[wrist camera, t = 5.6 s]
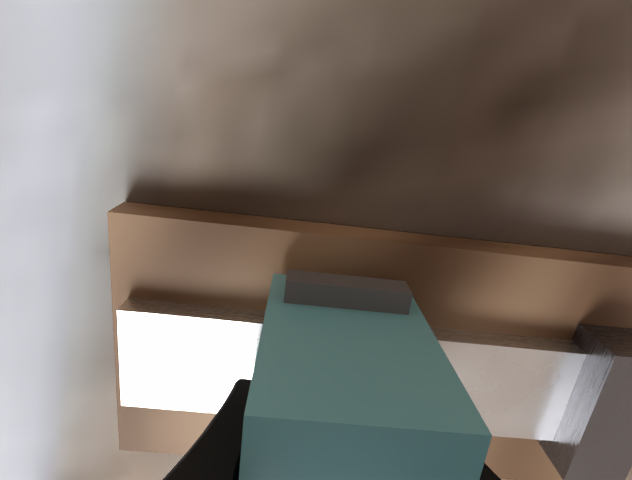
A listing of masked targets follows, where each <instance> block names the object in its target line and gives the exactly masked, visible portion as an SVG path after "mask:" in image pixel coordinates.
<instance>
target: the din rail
mask: <svg viewBox="0 0 632 480" xmlns="http://www.w3.org/2000/svg"><path fill="white" fill-rule="evenodd" d="M264 316H265V311H262V310H252V309H241V308H231V307H220V306H210V305H199V304H189V303H178V302H168V301H158V300H147V299H137V298H127V299H126V300H125V302H124V303H123V304H122V305H121V306H120V307H119V308H118V310H117V324H118V345H119V367H120V388H121V406H133V407H145V408H157V409H169V410H181V411H194V412H206V413H217V412H218V411H219V409H220V407H221V406H222V404H223V403H224V401H225V400H226V398H227V396H228V395H229V393H230V391H231V389H232V388H233V385H234V383H235V381H237V380H238V379H251V378H252V374H253V369H254V364H255V359H256V354H257V350H258V345H259V340H260V335H261V330H262V325H263V321H264ZM430 328H431V330H432V331H433V333H434V335H435V337H436V338H437V340H438V342H439V344H440V345H441V347H442V349H443V351H444V352H445V354H446V356H447V357H448V359H449V361H450V363H451V364H452V366H453V368H454V370H455V371H456V373H457V375H458V377H459V378H460V380H461V382H462V384H463V385H464V387H465V389H466V391H467V392H468V394H469V396H470V398H471V399H472V401H473V403H474V405H475V406H476V408H477V410H478V412H479V413H480V415H481V417H482V419H483V420H484V422H485V424H486V426H487V427H488V429H489V431H490V432H491V434H492V436H498V437H510V438H523V439H535V440H537V441H538V443H539V444H540V446H541V447H542V449H543V450H544V452H545V453H546V455H547V456H548V458H549V459H550V461H551V462H552V464H553V465H554V467H555V468H556V470H557V471H558V473H559V475H560V476H561V478H562V479H563V480H625V479H626V477H627V475H628V473H629V471H630V468H631V466H632V328H622V327H612V326H602V325H592V324H581V323H578V324H577V327H576V329H575V332H574V335H573V337H572V340H564V339H554V338H544V337H533V336H523V335H512V334H502V333H491V332H481V331H471V330H460V329H450V328H439V327H430Z"/></svg>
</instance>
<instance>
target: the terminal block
mask: <svg viewBox="0 0 632 480" xmlns="http://www.w3.org/2000/svg"><path fill="white" fill-rule="evenodd" d="M491 439H492V434H491V432H490V431H489V429H488V427H487V426H486V424H485V422H484V420H483V419H482V417H481V415H480V413H479V412H478V410H477V408H476V406H475V405H474V403H473V401H472V399H471V398H470V396H469V394H468V392H467V391H466V389H465V387H464V385H463V384H462V382H461V380H460V378H459V377H458V375H457V373H456V371H455V370H454V368H453V366H452V364H451V363H450V361H449V359H448V357H447V356H446V354H445V352H444V351H443V349H442V347H441V345H440V344H439V342H438V340H437V338H436V337H435V335H434V333H433V331H432V330H431V328H430V326H429V324H428V323H427V321H426V319H425V317H424V316H423V314H422V312H421V310H420V309H419V307H418V305H417V303H416V302H415V300H414V298H413V293H412V291H411V289H410V288H409V286H408V284H407V283H406V281H399V280H389V279H379V278H369V277H360V276H350V275H340V274H330V273H320V272H310V271H300V270H290V269H287V275H285V274H275V273H273V277H272V282H271V287H270V292H269V297H268V301H267V306H266V311H265V316H264V321H263V325H262V330H261V335H260V340H259V345H258V350H257V354H256V359H255V364H254V369H253V374H252V378H251V383H250V388H249V393H248V398H247V402H246V407H245V412H244V419H243V432H242V444H241V457H240V470H239V480H480V476H481V473H482V469H483V466H484V462H485V459H486V456H487V452H488V449H489V445H490V442H491Z"/></svg>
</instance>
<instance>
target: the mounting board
mask: <svg viewBox="0 0 632 480" xmlns="http://www.w3.org/2000/svg"><path fill="white" fill-rule="evenodd" d="M108 232H109V252H110V272H111V292H112V312H113V331H114V351H115V371H116V391H117V411H118V431H119V450H127V451H141V452H154V453H167V454H180V455H185V454H186V453H187V452H188V450H189V449H190V448H191V447H192V445H193V444H194V443H195V442H196V441H197V439H198V438H199V437H200V436H201V434H202V433H203V432H204V430H205V429H206V427H207V426H208V425H209V423H210V422H211V420H212V419H213V418H214V416H215V415H216V414H217V413H206V412H194V411H181V410H169V409H157V408H145V407H133V406H121V388H120V367H119V345H118V324H117V310H118V308H119V307H120V306H121V305H122V304H123V303H124V302H125V300H126V299H127V298H137V299H147V300H158V301H168V302H178V303H189V304H199V305H210V306H220V307H231V308H241V309H252V310H262V311H266V306H267V301H268V297H269V292H270V287H271V282H272V277H273V273H275V274H285V275H287V269H290V270H300V271H310V272H320V273H330V274H340V275H350V276H360V277H369V278H379V279H389V280H399V281H406V283H407V284H408V286H409V288H410V289H411V291H412V293H413V298H414V300H415V302H416V303H417V305H418V307H419V309H420V310H421V312H422V314H423V316H424V317H425V319H426V321H427V323H428V324H429V326H430V327H439V328H450V329H460V330H471V331H481V332H491V333H502V334H512V335H523V336H533V337H544V338H554V339H564V340H572V337H573V335H574V332H575V329H576V327H577V324H578V323H581V324H592V325H602V326H612V327H622V328H632V256H623V255H613V254H604V253H595V252H586V251H576V250H567V249H558V248H549V247H539V246H530V245H521V244H512V243H502V242H493V241H484V240H474V239H465V238H456V237H447V236H437V235H428V234H419V233H410V232H400V231H391V230H382V229H373V228H363V227H354V226H345V225H336V224H326V223H317V222H308V221H299V220H289V219H280V218H271V217H262V216H252V215H243V214H234V213H225V212H215V211H206V210H197V209H187V208H178V207H169V206H160V205H150V204H141V203H132V202H123V203H122V204H120V205H118V206H117V207H115V208H113V209H112V210H110V211H108ZM485 464H486V465H487V466H488V467H489V468H490V469H491V470H492V471H493V472H494V473H495V474H496V475H497V476H498V477H499V478H500V479H507V480H563V479H562V478H561V476H560V475H559V473H558V471H557V470H556V468H555V467H554V465H553V464H552V462H551V461H550V459H549V458H548V456H547V455H546V453H545V452H544V450H543V449H542V447H541V446H540V444H539V443H538V441H537V440H535V439H523V438H510V437H498V436H492V439H491V442H490V445H489V449H488V452H487V456H486V459H485Z"/></svg>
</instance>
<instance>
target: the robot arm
mask: <svg viewBox="0 0 632 480" xmlns="http://www.w3.org/2000/svg"><path fill="white" fill-rule="evenodd" d="M250 383H251V379H238V380H237V381H235V383H234V385H233V388H232V389H231V391H230V393H229V395H228V396H227V398H226V400H225V401H224V403H223V404H222V406H221V407H220V409H219V411H218V412H217V414H216V415H215V416H214V418H213V419H212V420H211V422H210V423H209V425H208V426H207V427H206V429H205V430H204V432H203V433H202V434H201V436H200V437H199V438H198V439H197V441H196V442H195V443H194V444H193V445H192V447H191V448H190V449H189V450H188V452H187V453H186V454H185V455H184V456H183V458H182V459H181V460H180V461H179V462H178V463H177V465H176V466H175V467H174V468H173V469H172V470H171V471H170V472H169V473H168V474H167V476H166V477H165V478H164V479H163V480H239V470H240V457H241V444H242V432H243V419H244V412H245V407H246V402H247V398H248V393H249V388H250ZM480 480H501V479H500V478H499V477H498V476H497V475H496V474H495V473H494V472H493V471H492V470H491V469H490V468H489V467H488V466H487V465H486V464H485V462H484V466H483V469H482V473H481V476H480Z"/></svg>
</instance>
